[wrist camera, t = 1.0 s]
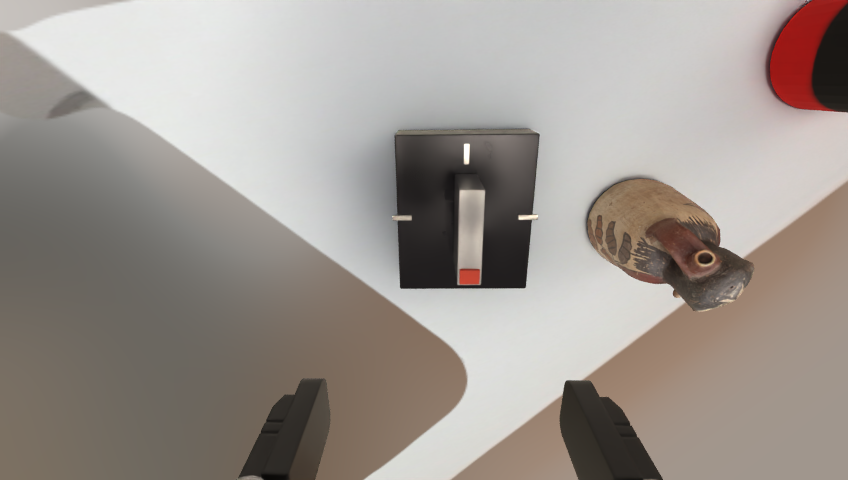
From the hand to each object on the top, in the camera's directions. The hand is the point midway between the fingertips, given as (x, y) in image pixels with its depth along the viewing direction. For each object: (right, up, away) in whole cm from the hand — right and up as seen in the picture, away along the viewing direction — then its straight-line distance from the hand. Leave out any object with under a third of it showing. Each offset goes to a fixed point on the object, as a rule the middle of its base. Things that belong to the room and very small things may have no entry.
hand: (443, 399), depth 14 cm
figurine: (+16, +7, +20) cm, 26 cm away
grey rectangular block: (+2, +7, +16) cm, 18 cm away
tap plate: (+2, +8, +19) cm, 21 cm away
